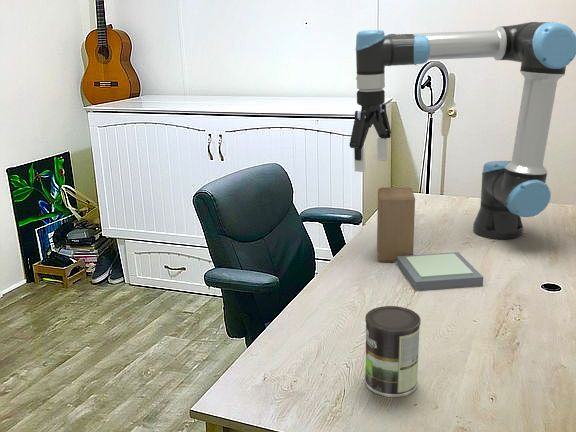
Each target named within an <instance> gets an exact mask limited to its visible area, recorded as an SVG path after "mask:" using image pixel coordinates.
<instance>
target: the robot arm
mask: <svg viewBox="0 0 576 432" xmlns="http://www.w3.org/2000/svg"><path fill="white" fill-rule="evenodd" d="M355 56H356V57H355V60H356V78H355V80H356V89H357V92H356V104H357V105H358V106H360V108H361V109H360V110H355V111H354V121H353V126H352V131H351V134H350V141H349V144H348V145H349V147H350V148H351V149H354V151H353V152H354V153H353V154H354V156H353V157H354V172H358V173H359V172H360V173H364V172H365V171H366V166H365V165H366V162H365V155H366V154H365V149H366V148H365V147H364V143H365V141H366V138H367V135H368V132H369V130H370V128H371V127H372V125H373V127H374V130H375V131H376V134H377V135H378V138H377V139H376V140H377V141H376V142H377V145H376V146H377V147H376V148H377V151H376V152H377V155H376V156H377V159H376V160H377V161H378V162H379V161H380V162H387V161H388V139H391V137H392V136H391V135H392V130H391V125H390V121H389V118H388V114H387V105H386V104H385V101H386V100H385V96H386V95H385V92H386V91H385V90H384V88H385V87H386V86H385V85H386V84H385V83H386V81H385V77H386V76H385V68H386V67H391V66H392V67H393V66H394V67H395V66H410V65H411V66H412V65H414V66H417V65H423V64H426V63H427V62H428V61H433V60H434V61H435V60H457V59H458V60H459V59H481V58H485V59H486V58H493V59H494V60H495V61H512V62H515V63H520V70H519V71H520V72H519V73H521V75H522V76H523V78H524V81H523V87H522V95H521V101H520V106H519V113H518V118H517V119H518V120H517V126H516V131H515V137H514V138H515V139H514V144H513V151H512V156H511V160H493V161H492V160H491V161H487V162H485V163H484V165H483V167H482V172H481V176H482V177H481V191H480V207H479V210H478V211H477V214H476V217H475V218H474V219H475V220H474V221H473V227H472V229H473V233H475V234H476V235H478V236H481V237H483V238H488V239H495V240H513V239H516V238H517V239H518V238H519V237H521V236H522V235H523V234H524V233H523V232H524V230H523V229H524V225H523V221H522V218H532V217H534V216H537V215H540V213H542V212H543V211H544V210H545V209H547V207H548V206H549V205H550V202H551V194H552V193H551V189H550V187H549V186H548V184H547V183H546V181H547V175H548V170H547V169H546V167H544V161H545V156H546V155H545V154H546V149H547V143H548V137H549V131H550V124H551V120H552V114H553V108H554V103H555V97H556V91H557V85H558V81H559V80H560V79H562V78H563V77H564V76H565V75H566V70H567V69H566V68H567V66H569V65H570V63H571V62H572V61H573V60H574V59H575V57H576V33H575V31H573V29H572V28H571V27H570V26H568V25H567V24H564V23H561V22H555V21H549V22H547V21H544V22H543V21H530V22H524V23H523V22H522V23H519V24H512V25H503V26H497V27H496V28H495V29H494V30H493V29H492V30H472V31H469V30H468V31H467V30H466V31H449V32H447V31H444V32H443V31H442V32H422V33H419V32H418V33H404V34H403V33H401V34H400V33H399V34H396V33H389V34H385V31H384V30H383V29H375V30H374V29H371V30H369V29H367V30H360V31H358V32H357V34H356V38H355Z"/></svg>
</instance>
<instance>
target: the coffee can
mask: <svg viewBox="0 0 576 432" xmlns="http://www.w3.org/2000/svg"><path fill="white" fill-rule="evenodd" d="M364 321H365V369H364V370H365V375H364V376H365V377H364V384H365V386H366V387H367V388H368V390H369V391H371V392H372V393H374V394H376V395H379V396H382V397H387V398H401V397H405V396H409V395H410V394H412V393H413V392H415V391H416V389H417V388H418V386H419V385H418V374H419V372H418V370H419V369H418V368H419V351H420V350H419V348H420V328H421V327H420V326H421V321H422V320H421V317H420V315H419V314H418V313H417V312H415V311H414V310H412V309H409V308H407V307H404V306H398V305H397V306H396V305H384V306H383V305H382V306H379V307H375V308H372V309H370V310H369V311H368V312H367V313H366V314H365V320H364Z"/></svg>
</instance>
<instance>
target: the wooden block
mask: <svg viewBox="0 0 576 432" xmlns="http://www.w3.org/2000/svg"><path fill="white" fill-rule="evenodd" d="M415 208H416V197H415V195H414V191H413V189H412V188H411V187H380V188H378V189H377V217H376V221H377V226H376V253H377V260H378V261H379V262H381V263H384V262H385V263H390V262H391V263H397V256H410V255H414V246H415V244H414V242H415V241H414V239H415V216H416V215H415V213H416V209H415Z"/></svg>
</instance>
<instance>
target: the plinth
mask: <svg viewBox="0 0 576 432" xmlns="http://www.w3.org/2000/svg"><path fill="white" fill-rule="evenodd" d="M396 266H397V267H398V269H399V270H400V271H401V273H402V274H403V276H404V277H405V278H406V279H407V282H409V284H410V285H411V287H412V288H413V290H414V291H415V292H419V291H432V290H433V291H435V290H442V289H445V290H446V289H448V290H449V289H457V288H458V289H461V288H471V287H483V286H484V276H483V275H482V274H481V273H480V272H479V271H478V270H477V269H476V268H475V266H473V265H472V264H471V263H470V262H469V261H468V260H467V259H466V258H465V257H464V256H463V255H462V254H461V253H460V252H458V251H457V252H444V253H443V252H441V253H429V254H428V253H426V254H413V255H410V256H397V262H396Z"/></svg>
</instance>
